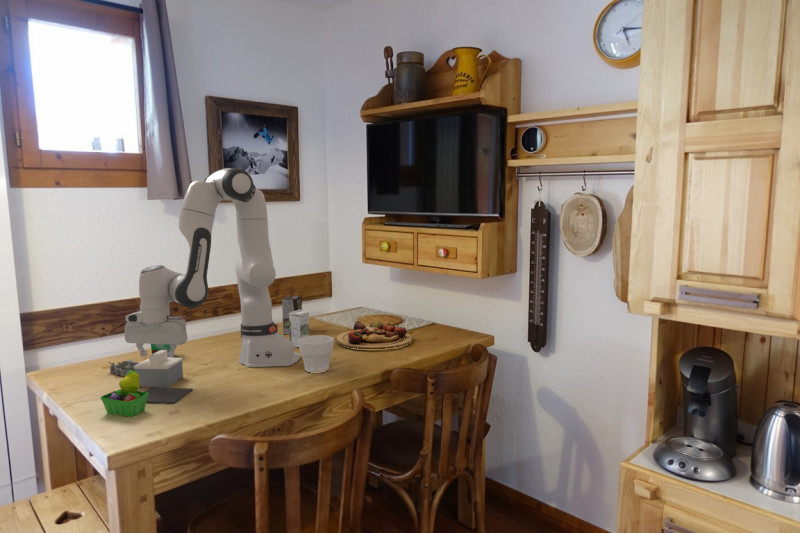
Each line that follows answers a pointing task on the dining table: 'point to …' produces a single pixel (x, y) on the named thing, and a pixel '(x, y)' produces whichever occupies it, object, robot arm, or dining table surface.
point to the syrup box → (298, 326)
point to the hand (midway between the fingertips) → (157, 356)
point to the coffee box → (290, 310)
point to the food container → (160, 348)
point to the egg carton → (126, 365)
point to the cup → (316, 352)
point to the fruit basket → (126, 397)
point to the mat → (166, 394)
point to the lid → (158, 361)
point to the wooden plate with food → (374, 336)
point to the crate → (160, 376)
